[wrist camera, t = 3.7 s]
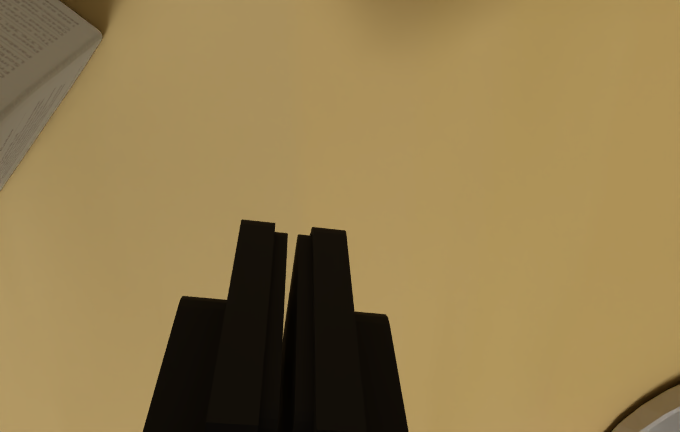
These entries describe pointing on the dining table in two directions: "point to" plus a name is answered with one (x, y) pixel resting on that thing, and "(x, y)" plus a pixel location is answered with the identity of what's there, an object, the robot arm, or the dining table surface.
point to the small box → (36, 69)
